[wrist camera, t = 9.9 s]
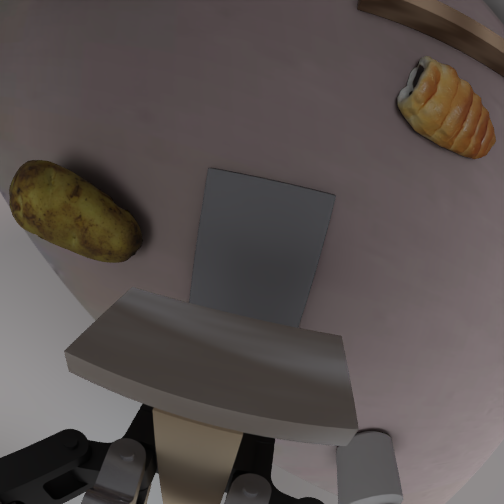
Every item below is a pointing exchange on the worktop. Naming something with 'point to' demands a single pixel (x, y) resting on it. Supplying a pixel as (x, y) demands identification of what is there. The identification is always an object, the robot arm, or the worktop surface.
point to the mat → (258, 246)
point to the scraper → (215, 384)
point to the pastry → (446, 110)
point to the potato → (72, 213)
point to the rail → (443, 27)
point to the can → (368, 470)
